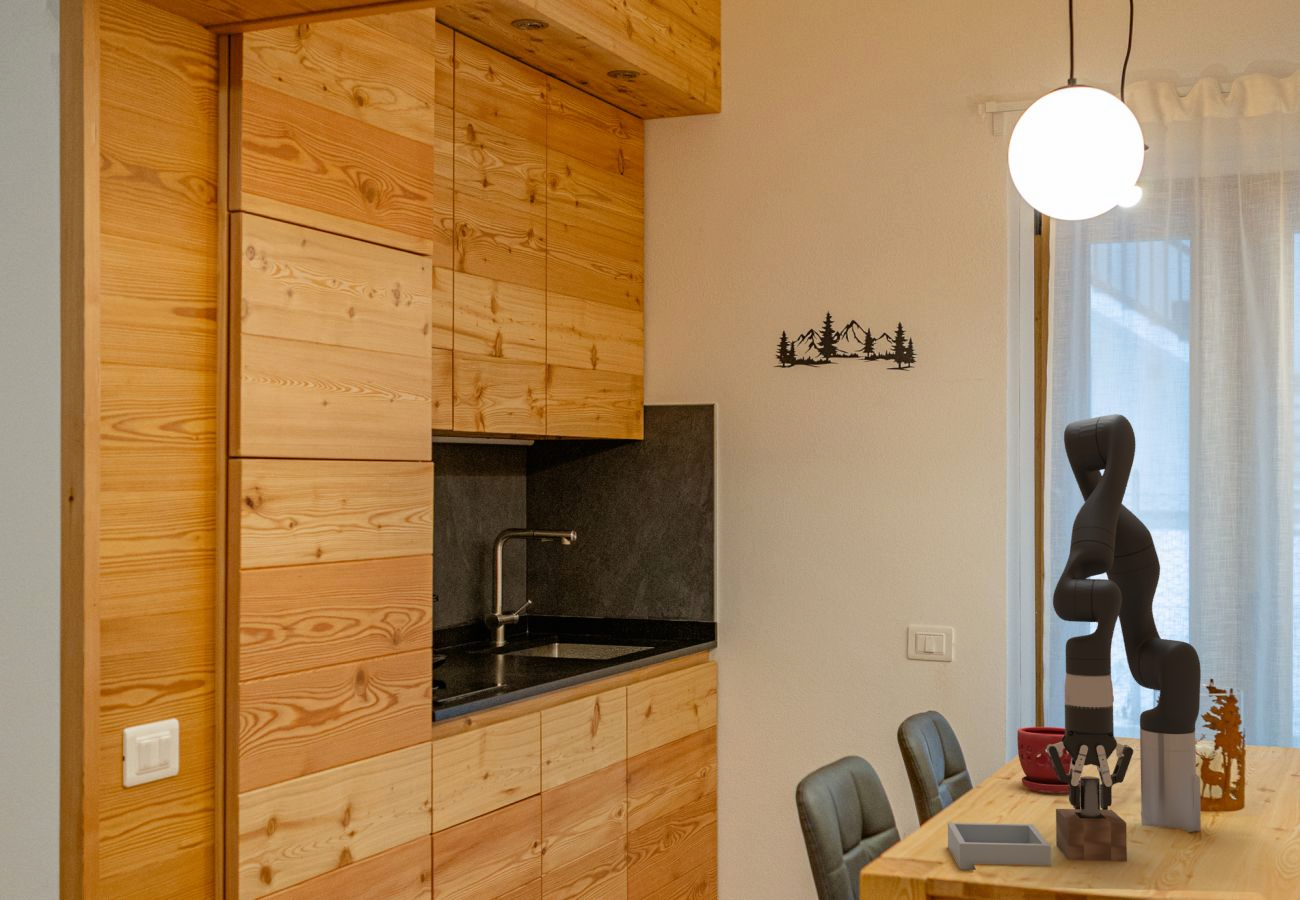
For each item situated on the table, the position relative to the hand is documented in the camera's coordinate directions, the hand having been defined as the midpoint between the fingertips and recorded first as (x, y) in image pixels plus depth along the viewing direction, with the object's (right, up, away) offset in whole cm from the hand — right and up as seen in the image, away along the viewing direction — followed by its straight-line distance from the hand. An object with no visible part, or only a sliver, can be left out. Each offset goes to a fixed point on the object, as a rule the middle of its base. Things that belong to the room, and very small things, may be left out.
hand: (1090, 807), depth 215 cm
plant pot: (+10, -11, +53) cm, 55 cm away
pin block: (0, -8, 0) cm, 8 cm away
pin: (0, -7, 0) cm, 7 cm away
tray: (-15, -8, 0) cm, 17 cm away
